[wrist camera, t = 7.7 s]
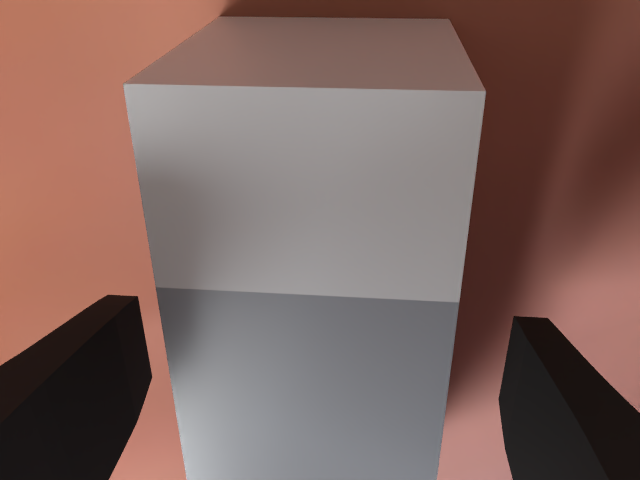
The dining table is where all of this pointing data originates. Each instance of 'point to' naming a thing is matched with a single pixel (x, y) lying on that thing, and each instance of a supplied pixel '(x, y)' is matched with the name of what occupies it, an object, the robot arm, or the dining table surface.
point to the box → (309, 239)
